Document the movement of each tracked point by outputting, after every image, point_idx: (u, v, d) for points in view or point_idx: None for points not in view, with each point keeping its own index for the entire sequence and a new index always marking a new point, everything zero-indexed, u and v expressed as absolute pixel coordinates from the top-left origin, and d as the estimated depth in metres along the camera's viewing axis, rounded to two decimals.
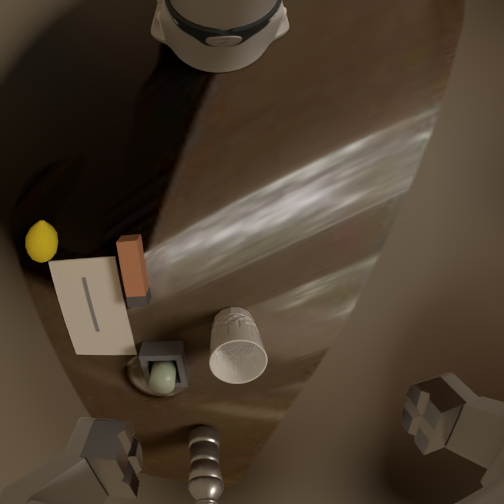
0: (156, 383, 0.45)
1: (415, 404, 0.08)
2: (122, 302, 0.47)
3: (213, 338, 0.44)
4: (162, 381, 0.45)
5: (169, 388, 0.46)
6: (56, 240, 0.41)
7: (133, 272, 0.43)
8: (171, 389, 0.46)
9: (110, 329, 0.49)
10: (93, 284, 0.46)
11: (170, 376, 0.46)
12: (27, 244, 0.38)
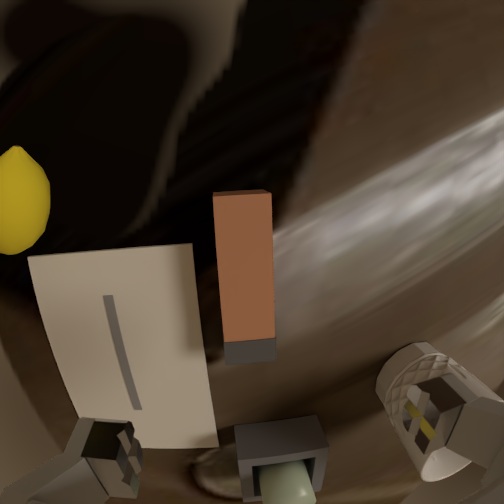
0: None
1: (415, 404, 0.08)
2: (200, 352, 0.21)
3: None
4: (293, 501, 0.18)
5: None
6: (46, 198, 0.16)
7: (252, 278, 0.18)
8: None
9: (167, 405, 0.22)
10: (131, 312, 0.20)
11: (310, 490, 0.19)
12: None
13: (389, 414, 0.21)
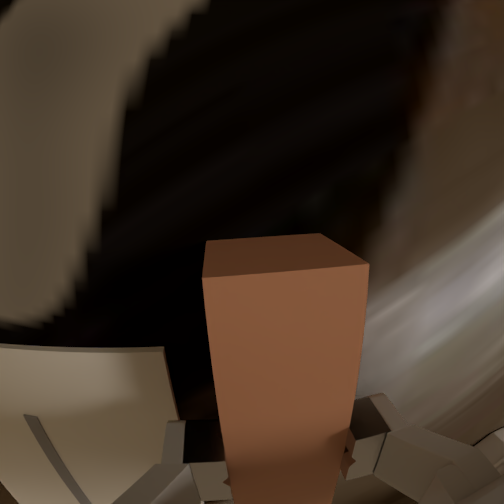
0: None
1: None
2: None
3: None
4: None
5: None
6: None
7: (301, 447, 0.07)
8: None
9: None
10: (72, 443, 0.09)
11: None
12: None
13: None
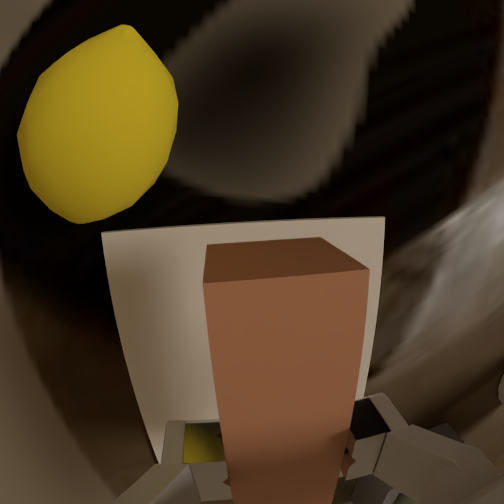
0: None
1: None
2: (365, 366, 0.15)
3: None
4: None
5: None
6: (175, 119, 0.10)
7: (301, 450, 0.07)
8: None
9: None
10: None
11: None
12: (30, 110, 0.07)
13: None
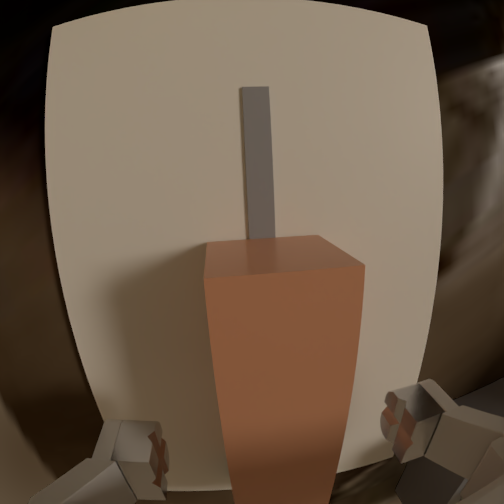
0: None
1: (392, 411, 0.08)
2: (435, 245, 0.09)
3: None
4: None
5: None
6: None
7: (300, 443, 0.07)
8: None
9: None
10: (311, 133, 0.08)
11: None
12: None
13: None
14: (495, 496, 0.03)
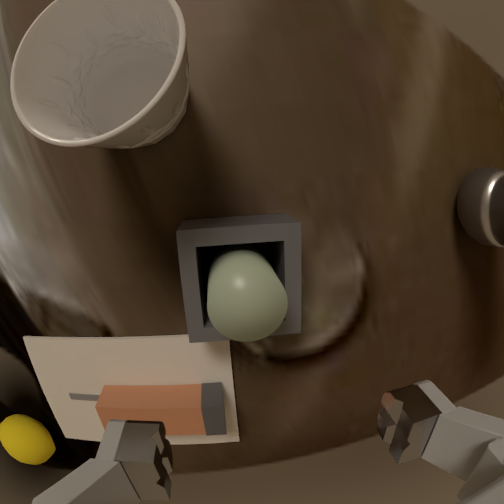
0: (244, 322, 0.16)
1: (389, 412, 0.08)
2: (97, 341, 0.22)
3: None
4: (233, 303, 0.16)
5: (265, 285, 0.16)
6: (15, 419, 0.21)
7: (153, 419, 0.21)
8: (269, 279, 0.16)
9: (165, 375, 0.24)
10: (77, 383, 0.23)
11: (221, 274, 0.16)
12: (20, 461, 0.20)
13: (140, 144, 0.17)
14: (495, 496, 0.03)
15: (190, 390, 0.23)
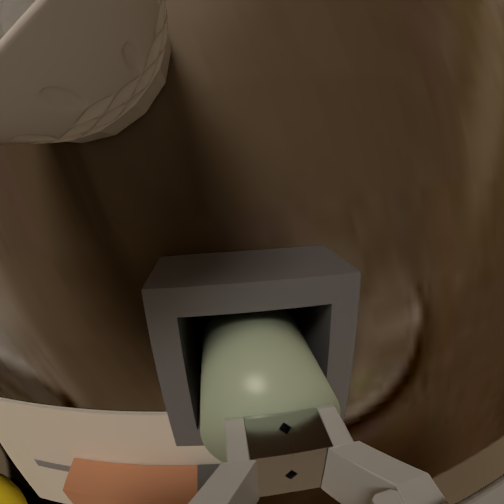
0: None
1: None
2: (57, 412, 0.14)
3: None
4: None
5: (305, 398, 0.08)
6: None
7: None
8: (314, 389, 0.08)
9: (148, 455, 0.16)
10: (42, 451, 0.15)
11: (224, 380, 0.08)
12: None
13: None
14: (495, 496, 0.03)
15: (183, 475, 0.15)
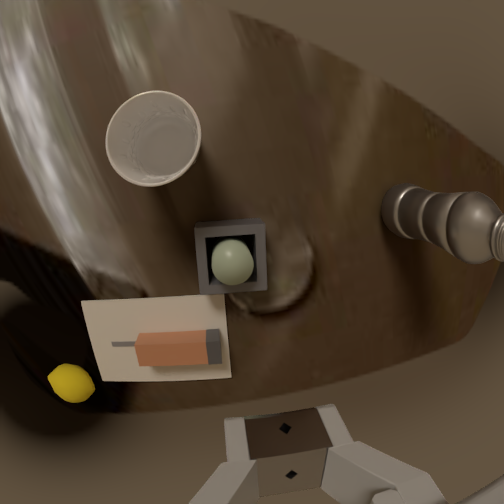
0: (231, 274, 0.31)
1: None
2: (137, 301, 0.36)
3: None
4: (225, 263, 0.31)
5: (241, 253, 0.31)
6: (66, 366, 0.35)
7: (173, 352, 0.35)
8: (243, 250, 0.31)
9: (181, 323, 0.38)
10: (118, 333, 0.37)
11: (219, 248, 0.31)
12: (66, 400, 0.34)
13: None
14: (495, 496, 0.03)
15: (198, 333, 0.37)
